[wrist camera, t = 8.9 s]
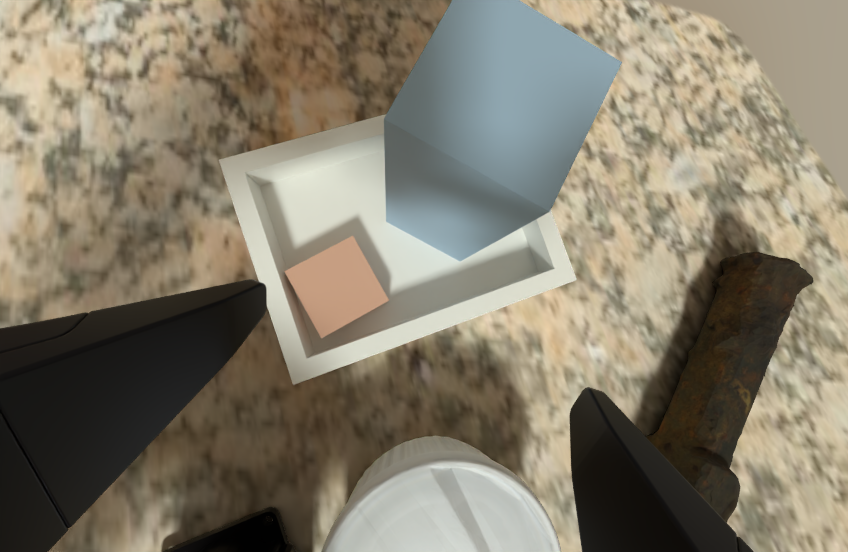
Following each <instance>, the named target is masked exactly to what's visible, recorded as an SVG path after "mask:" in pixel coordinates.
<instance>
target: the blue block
mask: <svg viewBox="0 0 848 552" xmlns="http://www.w3.org/2000/svg"><path fill="white" fill-rule="evenodd" d="M621 63H622V62H621V61H619V60H617V59H616V58H614V57H612V56H611V55H609V54H607V53H606V52H604V51H602V50H601V49H599V48H597V47H596V46H594V45H592V44H591V43H589V42H587V41H586V40H584V39H582V38H581V37H579V36H577V35H576V34H574V33H572V32H571V31H569V30H568V29H566V28H564V27H563V26H561V25H559V24H558V23H556V22H554V21H553V20H551V19H549V18H548V17H546V16H544V15H543V14H541V13H539V12H538V11H536V10H534V9H533V8H531V7H529V6H528V5H526V4H524V3H523V2H521V1H519V0H452V2H451V3H450V5H449V7H448V9H447V10H446V12H445V14H444V16H443V17H442V19H441V21H440V22H439V24H438V26H437V28H436V29H435V31H434V33H433V35H432V36H431V38H430V40H429V41H428V43H427V45H426V47H425V48H424V50H423V52H422V54H421V55H420V57H419V59H418V61H417V62H416V64H415V66H414V67H413V69H412V71H411V73H410V74H409V76H408V78H407V80H406V81H405V83H404V85H403V86H402V88H401V90H400V92H399V93H398V95H397V97H396V99H395V100H394V102H393V104H392V106H391V107H390V109H389V111H388V112H387V114H386V116H385V118H384V151H385V194H386V222H388V223H389V224H391V225H393V226H395V227H397V228H399V229H401V230H402V231H404V232H406V233H408V234H410V235H412V236H413V237H415V238H417V239H419V240H421V241H423V242H425V243H426V244H428V245H430V246H432V247H434V248H436V249H438V250H439V251H441V252H443V253H445V254H447V255H449V256H451V257H452V258H454V259H456V260H458V261H462V260H464V259H466V258H467V257H469V256H471V255H473V254H475V253H476V252H478V251H480V250H482V249H484V248H485V247H487V246H489V245H491V244H493V243H494V242H496V241H498V240H500V239H502V238H503V237H505V236H507V235H509V234H511V233H512V232H514V231H516V230H518V229H520V228H521V227H523V226H525V225H527V224H529V223H530V222H532V221H534V220H536V219H538V218H539V217H541V216H543V215H545V214H547V213H548V212H550V210H551V208H552V206H553V204H554V202H555V200H556V198H557V195H558V193H559V191H560V189H561V187H562V185H563V183H564V181H565V179H566V177H567V175H568V173H569V171H570V169H571V167H572V164H573V162H574V160H575V158H576V156H577V154H578V152H579V150H580V148H581V146H582V144H583V142H584V140H585V138H586V136H587V133H588V131H589V129H590V127H591V125H592V123H593V121H594V119H595V117H596V115H597V113H598V111H599V109H600V107H601V105H602V103H603V100H604V98H605V96H606V94H607V92H608V90H609V88H610V86H611V84H612V82H613V80H614V78H615V76H616V74H617V72H618V69H619V67H620V65H621Z"/></svg>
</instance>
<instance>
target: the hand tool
mask: <svg viewBox="0 0 848 552" xmlns="http://www.w3.org/2000/svg"><path fill="white" fill-rule="evenodd" d="M720 263H721V266H722V268H723V276H721V277H719V278H718V279H716V280H715V281H714V282H712V283H713V284H714V286H715V287H716V289H717V291H716V295H715V297H714V300H713V302H712V304H711V307H710V309H709V311H708V314H707V317H706V320H705V322H704V325H703V327H702V330H701V332H700V334H699V337H698V339H697V341H696V344H695V346H694V348H693V349H691V350H690V351H689V352H688V357H689V359H688V363H687V365H686V366H685V369H684V371H683V372H682V374H681V376H680V380H679V384H678V386H677V388H676V390H675V393H674V395H673V397H672V399H671V402H670V404H669V407H668V409H667V411H666V414H665V416H664V418H663V421H662V423H661V425H660V428H659V430H658V431H657V432H655V433H654V435H648V436H646V438H647V439H648V440H649V441H650V442H651V443H652V444H653V445H654V446H655V447H656V448H657V449H658V451H659V452H660V453H661V454H662V455H663V456H664V457H665V458H666V459H667V460H668V461H669V462H670V463H671V464H672V465H673V466H674V468H675V469H676V470H677V471H678V472H679V473H680V474H681V475H682V476H683V477H684V478H685V479H686V480H687V481H688V482H689V483H690V485H691V486H692V487H693V488H694V489H695V490H696V491H697V492H698V493H699V494H700V495H701V496H702V497H703V498H704V499H705V501H706V502H707V503H708V504H709V505H710V506H711V507H712V508H713V509H714V510H715V511H716V512H717V513H718V514H719V515H720V516H721V518H722V519H723V520H724V521H725V522H726V523H727V520H728V518H729V517H730V516H731V514H732V513H733V511H734V510H735V508H736V506H737V502H738V497H739V492H740V484H739V480H738V478H737V476H736V475H735V474H734V473H733V472H732V471H731V470H730V469H729V468H730V465H731V462H732V458H733V453H734V451H735V448H736V445H737V441H738V439H739V437H740V435H741V434H742V430H743V427H744V425H745V422H746V420H747V417H748V415H749V412H750V410H751V408H752V405H753V403H754V400H755V398H756V395H757V392H758V390H759V387H760V385H761V382H762V380H763V376H765V372H766V369H767V366H768V364H769V362H770V359H771V357H772V355H773V353H774V351H775V349H776V348H777V343H778V340H779V337H780V335H781V333H782V331H783V327H784V325H785V323H786V321H787V319H788V318H789V315H790V311H791V310H792V307H793V306H794V302H795V299H796V296H797V294H799V292H800V291H801V290H802V289H803V288H805V287H806V286H808V285H809V284H812V283H813V277H812V276H811V275H810V274H809V273H807V271H806V270H804V269H803V268H801V267H800V264H799V263H797V262H795V261H793V260H790V259H787V258H779V257H775V256H771V255H767V254H763V253H760V252H751V253H744V254H740V255H738V256H735V257H730V258H725V259H724V260H722V261H721V262H720Z"/></svg>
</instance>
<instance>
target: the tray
mask: <svg viewBox="0 0 848 552" xmlns="http://www.w3.org/2000/svg"><path fill="white" fill-rule="evenodd" d="M385 116H386V114H384V115H381V116H377V117H373V118H370V119H366V120H362V121H359V122H355V123H351V124H348V125H344V126H340V127H337V128H333V129H329V130H326V131H322V132H319V133H315V134H311V135H308V136H304V137H300V138H297V139H293V140H289V141H286V142H282V143H278V144H275V145H271V146H267V147H264V148H260V149H256V150H253V151H249V152H245V153H242V154H238V155H234V156H231V157H227V158H223V159H220V160H219V162H220V165H221V168H222V171H223V174H224V177H225V180H226V184H227V187H228V190H229V193H230V196H231V199H232V202H233V205H234V208H235V211H236V214H237V217H238V220H239V223H240V226H241V229H242V232H243V235H244V238H245V241H246V244H247V247H248V250H249V253H250V256H251V259H252V262H253V265H254V268H255V271H256V274H257V277H258V280H259V282H261V283H264V284H265V285H266V289H267V307H268V310H269V314H270V317H271V320H272V323H273V326H274V329H275V332H276V335H277V338H278V341H279V344H280V347H281V350H282V353H283V356H284V359H285V362H286V365H287V368H288V371H289V374H290V377H291V380H292V383H293V385H295V384H298V383H300V382H303V381H306V380H308V379H311V378H314V377H316V376H319V375H322V374H324V373H327V372H330V371H333V370H335V369H338V368H341V367H343V366H346V365H349V364H351V363H354V362H357V361H360V360H362V359H365V358H368V357H370V356H373V355H376V354H378V353H381V352H384V351H386V350H389V349H392V348H395V347H397V346H400V345H403V344H405V343H408V342H411V341H413V340H416V339H419V338H422V337H424V336H427V335H430V334H432V333H435V332H438V331H440V330H443V329H446V328H448V327H451V326H454V325H457V324H459V323H462V322H465V321H467V320H470V319H473V318H475V317H478V316H481V315H484V314H486V313H489V312H492V311H494V310H497V309H500V308H502V307H505V306H508V305H510V304H513V303H516V302H519V301H521V300H524V299H527V298H529V297H532V296H535V295H537V294H540V293H543V292H546V291H548V290H551V289H554V288H556V287H559V286H562V285H564V284H567V283H570V282H572V281H575V280H577V279H576V277H575V274H574V271H573V268H572V266H571V263H570V260H569V258H568V255H567V252H566V249H565V247H564V244H563V241H562V239H561V236H560V233H559V231H558V228H557V225H556V222H555V220H554V217H553V214H552V212H551V210H550V212H548V213H547V214H545V215H543V216H541V217H539V218H538V219H536V220H534V221H532V222H530V223H529V224H527V225H525V226H523V227H521V228H520V229H518V230H516V231H514V232H512V233H511V234H509V235H507V236H505V237H503V238H502V239H500V240H498V241H496V242H494V243H493V244H491V245H489V246H487V247H485V248H484V249H482V250H480V251H478V252H476V253H475V254H473V255H471V256H469V257H467V258H466V259H464V260H462V261H458V260H456V259H454V258H452V257H451V256H449V255H447V254H445V253H443V252H441V251H439V250H438V249H436V248H434V247H432V246H430V245H428V244H426V243H425V242H423V241H421V240H419V239H417V238H415V237H413V236H412V235H410V234H408V233H406V232H404V231H402V230H401V229H399V228H397V227H395V226H393V225H391V224H389V223H388V222H386V194H385V151H384V118H385ZM351 236H353V237H354V238H355V240H356V242H357V244H358V246H359V247H360V249H361V251H362V253H363V255H364V256H365V258H366V260H367V262H368V263H369V265H370V267H371V269H372V271H373V272H374V274H375V276H376V278H377V280H378V281H379V283H380V285H381V287H382V289H383V290H384V292H385V294H386V296H387V298H388V299H389V301H388V302H386V303H384V304H382V305H380V306H379V307H377V308H375V309H373V310H371V311H370V312H368V313H366V314H364V315H363V316H361V317H359V318H357V319H355V320H354V321H352V322H350V323H348V324H346V325H345V326H343V327H341V328H339V329H338V330H336V331H334V332H332V333H330V334H329V335H327V336H325V337H323V338H321V337H320V335H319V333H318V331H317V330H316V328H315V326H314V324H313V322H312V321H311V319H310V317H309V315H308V313H307V311H306V310H305V308H304V306H303V304H302V302H301V301H300V299H299V297H298V295H297V293H296V292H295V290H294V288H293V286H292V284H291V283H290V281H289V279H288V277H287V275H286V274H285V272H284V271H286V270H288V269H290V268H292V267H294V266H295V265H297V264H299V263H301V262H303V261H305V260H307V259H309V258H311V257H313V256H315V255H317V254H318V253H320V252H322V251H324V250H326V249H328V248H330V247H332V246H334V245H336V244H338V243H340V242H342V241H343V240H345V239H347V238H349V237H351Z"/></svg>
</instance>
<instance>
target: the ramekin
mask: <svg viewBox="0 0 848 552" xmlns="http://www.w3.org/2000/svg"><path fill="white" fill-rule="evenodd" d="M322 552H561V548H560V544H559V540H558V537H557V534H556V531H555V529H554V527H553V524H552V522H551V520H550V518H549V516H548V514H547V512H546V511H545V509H544V507H543V506H542V504H541V503H540V501H539V500H538V498H537V497H536V496H535V494H534V493H533V492H532V491H531V489H530V488H529V487H528V486H527V485H526V484H525V483H524V482H523V481H522V480H521V479H520V478H519V477H518V476H517V475H515V474H514V473H513V472H511V471H510V470H509V469H507V468H505V467H504V466H502V465H500V464H499V463H497V462H495V461H493V460H491V459H490V458H489V457H488V456H486V455H485V454H483V453H482V452H481V451H479V450H478V449H476V448H474V447H472V446H470V445H469V444H467V443H464V442H461V441H459V440H457V439H452V438H450V437H440V436H425V437H421V438H415V439H413V440H410V441H406V442H403V443H402V444H400V445H397V446H395V447H393V448H392V449H391V450H389V451H387V452H385V453H384V454H383V455H382V456H381V457H379V458H378V459H376V460H375V461H374V462H373V464H372V465H371V466H370V467H369V468H367V469H366V471H365V472H364V474H363V476H362V477H361V478H360V479H359V481H358V483H357V484H356V487H355V489H354V490H353V492H352V494H351V496H350V498H349V500H348V502H347V504H346V505H345V506H344V508H343V510H342V511H341V513H340V514H339V516H338V517H337V519H336V520H335V522H334V524H333V526H332V528H331V530H330V532H329V534H328V536H327V539H326V541H325V543H324V546H323V549H322Z"/></svg>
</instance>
